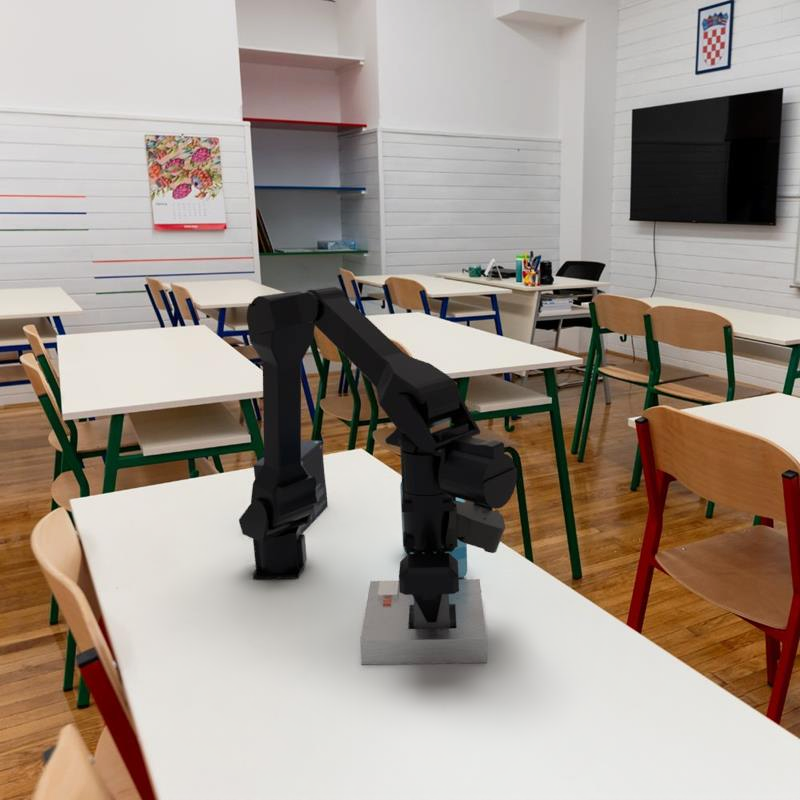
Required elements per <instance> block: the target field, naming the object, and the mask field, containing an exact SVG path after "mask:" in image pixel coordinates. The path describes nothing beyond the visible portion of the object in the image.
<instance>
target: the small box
mask: <svg viewBox="0 0 800 800" xmlns="http://www.w3.org/2000/svg"><path fill="white" fill-rule="evenodd" d="M323 449H324V448H323V441H322V440H308V439H307V440H305V439H304V440H302V439H301V464H302V465H303V467H304V468H305V470H306V471H307V473H308V474H309V476H312V477H315V479H316V481H317V483H316V499H317V503H316V504H314V509H313V511H312V512H311V517H310V522H309V523H308V524H304V525H301V526H300V530H301V534H304V532H305V531H306V530H307V529H308V527H309V526H310V525H311V524H312V523H313V522H314V521H315V520H316V519H317V518H318V516H320V515H321V513H322V512H323V511H324V510H325V509H326V508H327V507H328V503H329V502H328V493H327V483H326V475H325V474H326V473H325V463H324V451H323ZM263 464H264V456H263V457H262V458H259V460H258V461H256V462H255V463H254V464H253V465H252V466H253V472H254V473H253V474H254V480H255V479H256V477H257V475H258V473H259V471H260V469H261V468H262V466H263Z"/></svg>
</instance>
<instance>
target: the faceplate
mask: <svg viewBox="0 0 800 800" xmlns="http://www.w3.org/2000/svg"><path fill="white" fill-rule="evenodd" d="M481 587H482V586H481V581H480V579H479V578H476V579H475V578H471V579H470V578H469V579H468V578H467V579H466V578H465V579H464V578H463V579H460V578H459V592H457V593H455V594H449V620H450V629H415V620H414V597H413V596H412V595H404V594H402V593H400V590H399V580H371V581H370V583H369V588H368V595H367V599H366V606H365V612H364V617H363V623H362V629H361V633H360V634H361V636H360V640H359V641H360V656H361V665H418V664H419V665H421V664H422V665H423V664H425V665H427V664H429V665H430V664H434V665H436V664H487V663H488V651H487V650H488V649H487V646H488V645H487V643H488V642H487V631H486V622H485V615H484V613H485V612H484V606H483V597H482V588H481ZM451 627H452V628H451ZM453 627H454V628H453Z"/></svg>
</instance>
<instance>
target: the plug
mask: <svg viewBox="0 0 800 800" xmlns="http://www.w3.org/2000/svg"><path fill="white" fill-rule="evenodd" d="M413 553H414V552H411V553H410V554H413ZM434 553H436V552H434ZM445 553H450V554H451V552H445ZM423 554H424V552H423ZM414 620H415V627H414V629H450V628H451V627H450V620H449V594H442V598H441V603H440V607H439V612H438V617H437V621H436V622H427V621H426V619H425V617H424V616H423V614H422V612H421V610H420V608H419V606H418V604H417V603H416V601H415V599H414Z"/></svg>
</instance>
